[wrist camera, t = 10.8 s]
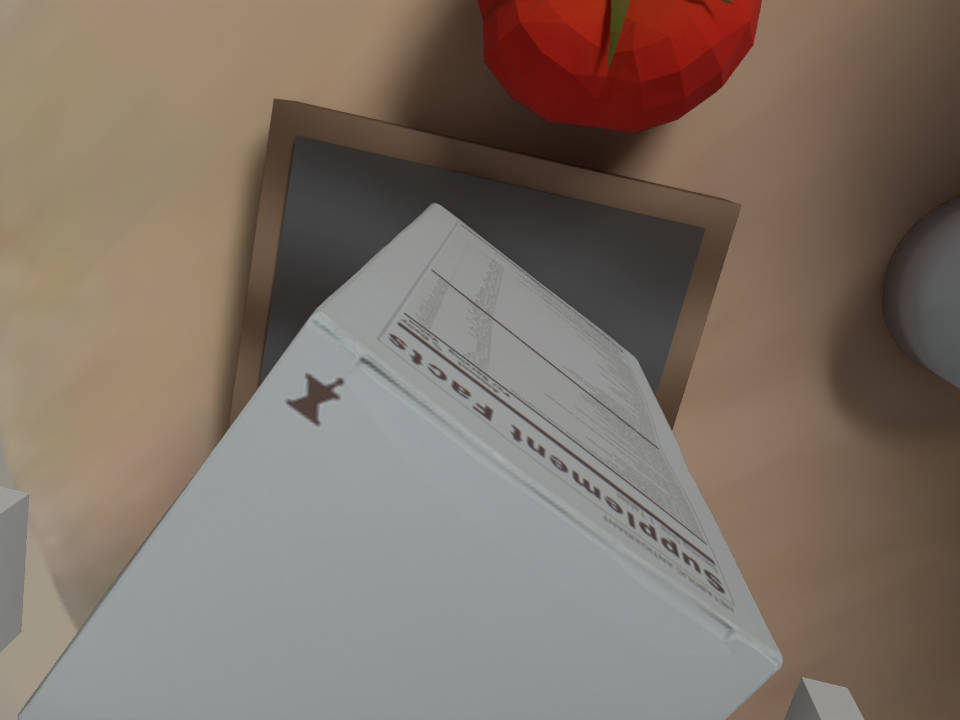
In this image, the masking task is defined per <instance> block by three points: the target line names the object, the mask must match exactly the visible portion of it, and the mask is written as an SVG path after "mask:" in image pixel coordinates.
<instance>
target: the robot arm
mask: <svg viewBox="0 0 960 720" xmlns="http://www.w3.org/2000/svg"><path fill="white" fill-rule="evenodd" d="M28 503H29V493H25V492H21V491H16V490H12V489H7V488H4V487H0V652H1V651H2V650H3V649H4V648H5V647H6V646H7V645H8V644H9V643H10V642H11V641H12V640H13V639H14V638H15V637H16V636H17V635H18V634H19V633H20V632H21V626H22V607H23V591H24V572H25V556H26V538H27V521H28ZM785 720H864V718H863V716H862V714H861V712H860V711H859V709H858V707H857V705H856V703H855V701H854V699H853V697H852V696H851V694H850V692H849V690H848V688H846V687H842V686H837V685H833V684H829V683H825V682H821V681H816V680H812V679H808V678H804V677H801V680H800V682H799V685H798V687H797V690H796V692H795V695H794V697H793V700H792V702H791V705H790V707H789V710H788V712H787V715H786V717H785Z"/></svg>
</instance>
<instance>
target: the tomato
mask: <svg viewBox="0 0 960 720" xmlns="http://www.w3.org/2000/svg"><path fill="white" fill-rule="evenodd" d="M761 3H762V0H478V4H479V7H480V11H481V14H482V18H483V36H484V63H485V64H486V65H487V67H488V68H489V69H490V70H491V72H492V73H493V74H494V76H495V77H496V78H497V79H498V81H499V82H500V83H501V85H502V86H503V87H504V89H505V90H506V91H507V92H508V94H509V95H510V96H511V98H513V99H515V100H516V101H518V102H519V103H521V104H522V105H524V106H525V107H527V108H528V109H530V110H531V111H533V112H534V113H536V114H537V115H539V116H540V117H542V118H543V119H545V120H546V121H548V122H556V123H564V124H572V125H580V126H587V127H595V128H602V129H609V130H617V131H624V132H631V133H636V132H640V131H643V130H646V129H649V128H652V127H656V126H659V125H662V124H665V123H668V122H672V121H675V120H678V119H679V118H681V117H682V116H683V115H685V114H686V113H688V112H689V111H690V110H692V109H693V108H695V107H696V106H697V105H699V104H700V103H702V102H703V101H704V100H706V99H707V98H709V97H710V96H711V95H713V94H714V93H716V92H717V91H718V90H719V89H720V88H721V87H722V86H723V85H724V84H725V82H726V81H727V80H728V78H729V77H730V76H731V74H732V73H733V72H734V70H735V69H736V68H737V66H738V65H739V64H740V62H741V61H742V60H743V58H744V57H745V55H746V54H747V53H748V51H749V50H750V49H751V47H752V46H753V44H754V39H755V34H756V28H757V23H758V18H759V13H760V8H761Z"/></svg>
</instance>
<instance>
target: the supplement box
mask: <svg viewBox="0 0 960 720" xmlns="http://www.w3.org/2000/svg"><path fill="white" fill-rule="evenodd" d="M782 664H783V659H782V654H781V652H780V651H779V649H778V647H777V645H776V643H775V641H774V639H773V637H772V635H771V633H770V632H769V630H768V628H767V626H766V624H765V622H764V620H763V618H762V616H761V613H760V611H759V609H758V607H757V605H756V603H755V601H754V599H753V597H752V595H751V593H750V591H749V589H748V587H747V585H746V582H745V580H744V578H743V576H742V574H741V572H740V570H739V568H738V566H737V564H736V562H735V560H734V558H733V556H732V554H731V552H730V550H729V548H728V546H727V544H726V542H725V540H724V538H723V536H722V533H721V531H720V529H719V527H718V525H717V523H716V521H715V519H714V517H713V515H712V513H711V511H710V509H709V507H708V506H707V504H706V502H705V500H704V498H703V496H702V495H701V493H700V491H699V489H698V487H697V485H696V483H695V481H694V479H693V478H692V476H691V474H690V472H689V470H688V468H687V466H686V463H685V461H684V458H683V456H682V453H681V450H680V448H679V445H678V443H677V441H676V439H675V436H674V434H673V432H672V430H671V428H670V426H669V424H668V422H667V420H666V418H665V416H664V414H663V412H662V410H661V408H660V406H659V404H658V402H657V399H656V397H655V395H654V393H653V391H652V389H651V387H650V385H649V383H648V381H647V379H646V377H645V375H644V373H643V371H642V369H641V366H640V364H639V362H638V360H637V359H636V358H635V357H634V356H633V355H632V354H630V353H629V352H628V351H627V350H626V349H624V348H623V347H622V346H621V345H620V344H618V343H617V342H616V341H615V340H613V339H612V338H611V337H610V336H608V335H607V334H606V333H605V332H603V331H602V330H601V329H600V328H598V327H597V326H596V325H594V324H593V323H592V322H591V321H589V320H588V319H587V318H586V317H584V316H583V315H582V314H580V313H579V312H578V311H576V310H575V309H574V308H572V307H571V306H570V305H569V304H567V303H566V302H565V301H563V300H562V299H561V298H559V297H558V296H557V295H555V294H554V293H553V292H551V291H550V290H549V289H547V288H546V287H545V286H544V285H542V284H541V283H540V282H538V281H537V280H536V279H535V278H533V277H532V276H531V275H530V274H528V273H527V272H526V271H524V270H523V269H522V268H521V267H519V266H518V265H517V264H515V263H514V262H513V261H512V260H510V259H509V258H508V257H507V256H505V255H504V254H503V253H501V252H500V251H499V250H498V249H496V248H495V247H494V246H492V245H491V244H490V243H489V242H487V241H486V240H485V239H484V238H482V237H481V236H480V235H478V234H477V233H476V232H475V231H473V230H472V229H471V228H470V227H468V226H467V225H466V224H465V223H463V222H462V221H461V220H459V219H458V218H457V217H456V216H454V215H453V214H452V213H450V212H449V211H448V210H446V209H445V208H444V207H442V206H441V205H439V204H437V203H433V204H431V205H430V206H429V207H428V208H427V209H426V210H425V211H424V212H423V213H422V214H421V215H420V216H419V217H418V218H416V219H415V220H414V221H413V222H412V223H411V224H410V225H409V226H407V227H406V228H405V229H404V230H403V231H401V232H400V233H399V234H398V235H397V236H396V237H395V238H394V239H393V240H392V241H391V242H390V243H389V244H388V245H386V246H385V247H384V248H382V249H381V250H380V251H379V252H378V253H377V254H376V255H375V256H374V257H373V258H372V259H370V260H369V261H368V262H367V263H366V264H365V265H364V266H363V267H362V268H361V269H360V270H359V271H358V272H357V273H356V274H355V275H354V276H352V277H351V278H350V279H349V280H348V281H347V282H346V283H344V284H343V285H342V286H341V287H340V288H339V289H338V290H336V291H335V292H334V293H333V294H332V295H331V296H329V297H328V298H327V299H326V300H325V301H324V302H323V303H322V304H321V305H320V306H319V307H318V308H317V309H316V310H315V311H314V312H313V314H312V315H311V316H310V317H309V318H308V320H307V321H306V323H305V324H304V325H303V327H302V328H301V330H300V331H299V332H298V334H297V335H296V337H295V338H294V339H293V341H292V342H291V344H290V345H289V346H288V348H287V349H286V351H285V352H284V353H283V355H282V356H281V358H280V359H279V360H278V362H277V363H276V365H275V366H274V367H273V369H272V370H271V371H270V373H269V374H268V376H267V377H266V378H265V380H264V381H263V383H262V384H261V385H260V387H259V388H258V390H257V391H256V392H255V394H254V395H253V396H252V398H251V399H250V401H249V402H248V403H247V405H246V406H245V407H244V409H243V410H242V412H241V413H240V414H239V416H238V417H237V418H236V420H235V421H234V423H233V424H232V425H231V427H230V428H229V429H228V431H227V432H226V434H225V435H224V436H223V438H222V439H221V440H220V442H219V443H218V444H217V446H216V447H215V448H214V450H213V451H212V452H211V454H210V455H209V456H208V458H207V459H206V460H205V462H204V463H203V464H202V466H201V467H200V468H199V470H198V471H197V472H196V474H195V475H194V476H193V478H192V479H191V480H190V482H189V483H188V484H187V486H186V487H185V488H184V490H183V491H182V492H181V494H180V495H179V496H178V498H177V499H176V500H175V501H174V503H173V504H172V505H171V507H170V508H169V509H168V511H167V512H166V513H165V515H164V516H163V517H162V518H161V520H160V521H159V522H158V524H157V525H156V526H155V528H154V529H153V530H152V532H151V533H150V534H149V536H148V537H147V538H146V540H145V541H144V542H143V544H142V545H141V546H140V548H139V549H138V550H137V552H136V553H135V554H134V556H133V557H132V558H131V560H130V561H129V562H128V564H127V565H126V567H125V568H124V569H123V571H122V572H121V573H120V575H119V576H118V577H117V579H116V580H115V581H114V583H113V584H112V585H111V587H110V588H109V589H108V591H107V592H106V593H105V595H104V596H103V598H102V599H101V600H100V602H99V603H98V605H97V606H96V607H95V609H94V610H93V612H92V613H91V614H90V616H89V617H88V619H87V620H86V621H85V623H84V624H83V625H82V627H81V628H80V630H79V631H78V632H77V634H76V635H75V637H74V638H73V639H72V641H71V642H70V644H69V645H68V646H67V648H66V649H65V651H64V652H63V653H62V655H61V656H60V658H59V659H58V660H57V662H56V663H55V665H54V666H53V667H52V669H51V670H50V671H49V673H48V674H47V676H46V677H45V678H44V680H43V681H42V682H41V684H40V685H39V686H38V688H37V689H36V691H35V692H34V693H33V695H32V696H31V697H30V699H29V700H28V701H27V703H26V704H25V706H24V707H23V709H22V710H21V712H20V713H19V714H18V720H726V719H727V718H728V717H729V716H730V715H731V714H732V713H733V712H734V711H735V710H737V709H738V708H739V707H740V706H741V705H742V704H743V703H744V702H745V701H746V700H747V699H748V698H749V697H750V696H751V695H752V694H753V693H754V692H756V691H757V690H758V689H759V688H760V687H761V686H762V685H763V684H764V683H765V682H766V681H767V680H768V679H769V678H771V677H772V676H773V675H774V674H775V673H776V672H777V671H778V670H779V669H780V668H781V666H782Z"/></svg>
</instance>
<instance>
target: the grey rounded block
mask: <svg viewBox="0 0 960 720" xmlns="http://www.w3.org/2000/svg"><path fill="white" fill-rule="evenodd" d="M882 303H883V311H884V316H885V320H886V324H887V326H888V328H889V331H890V333H891V335H892V337H893V338H894V340H895V342H896V343H897V345H898V346H899V347H900V348H901V349H902V350H903V352H904V353H905V354H906V355H908V356H909V357H910V358H911V359H912V360H913V361H915V362H917V363H918V364H920V365H921V366H923V367H925V368H926V369H928V370H929V371H931V372H933V373H934V374H936V375H938V376H939V377H941V378H943V379H944V380H946V381H948V382H949V383H951V384H953V385H954V386H956V387H957V388H959V389H960V196H959V197H956V198H953V199H951V200H949V201H947V202H945V203H943V204H941V205H939V206H938V207H936V208H935V209H933V210H931V211H930V212H928V213H927V214H926V215H925V216H924V217H922V218H921V219H920V220H919V221H918V222H917V223H916V224H915V225H914V226H913V227H912V228H911V229H910V230H909V231H908V232H907V233H906V235H905V236H904V237H903V239H902V240H901V241H900V243H899V245H898V246H897V248H896V250H895V251H894V253H893V255H892V257H891V260H890V262H889V264H888V267H887V271H886V274H885V277H884V284H883V293H882Z"/></svg>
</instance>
